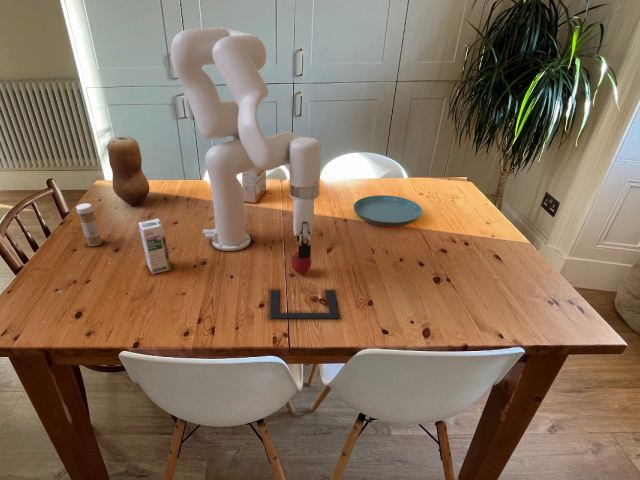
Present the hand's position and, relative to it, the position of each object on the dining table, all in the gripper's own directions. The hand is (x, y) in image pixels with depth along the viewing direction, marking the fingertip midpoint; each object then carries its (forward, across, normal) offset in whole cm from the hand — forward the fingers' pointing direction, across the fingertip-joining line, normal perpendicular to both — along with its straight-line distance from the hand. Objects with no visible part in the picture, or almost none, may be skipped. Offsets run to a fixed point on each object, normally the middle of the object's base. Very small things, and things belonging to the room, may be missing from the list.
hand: (303, 249), depth 113 cm
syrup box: (+8, -4, -43) cm, 43 cm away
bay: (+8, +14, -1) cm, 16 cm away
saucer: (+8, -40, +32) cm, 52 cm away
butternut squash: (+6, -52, -65) cm, 83 cm away
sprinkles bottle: (+7, -18, -68) cm, 70 cm away
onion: (+8, 0, -1) cm, 8 cm away
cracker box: (+7, -58, -17) cm, 61 cm away
